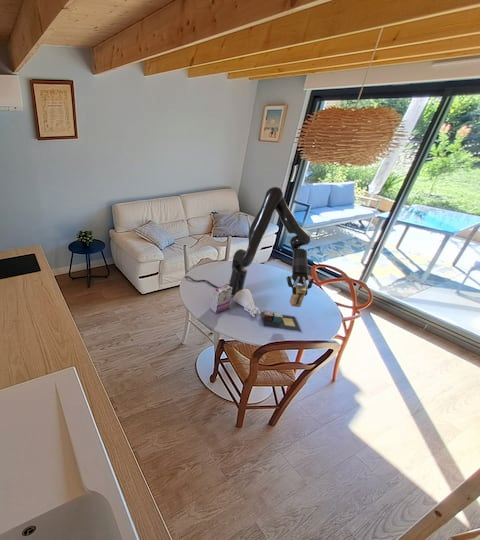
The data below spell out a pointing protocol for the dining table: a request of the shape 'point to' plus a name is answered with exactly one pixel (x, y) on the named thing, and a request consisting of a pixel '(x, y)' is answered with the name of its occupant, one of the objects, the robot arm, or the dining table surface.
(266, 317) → the letter block
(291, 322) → the word mat
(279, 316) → the letter block
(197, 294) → the dining table surface
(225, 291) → the candy bar box
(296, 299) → the tan rectangular block
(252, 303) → the rocket engine
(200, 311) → the dining table surface
